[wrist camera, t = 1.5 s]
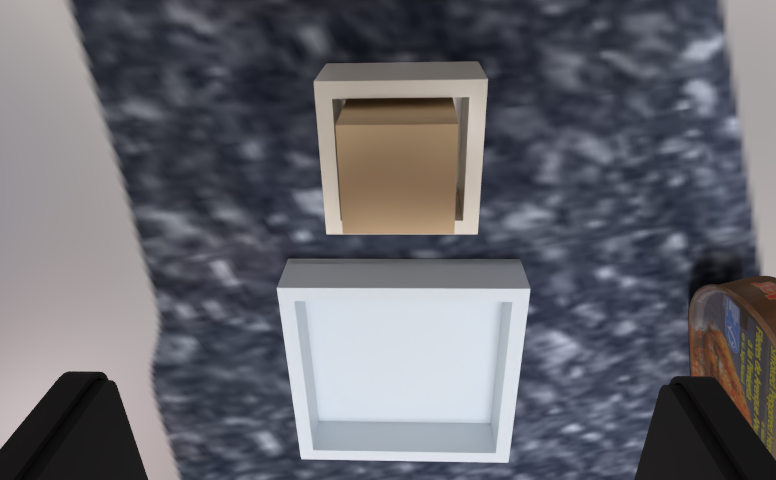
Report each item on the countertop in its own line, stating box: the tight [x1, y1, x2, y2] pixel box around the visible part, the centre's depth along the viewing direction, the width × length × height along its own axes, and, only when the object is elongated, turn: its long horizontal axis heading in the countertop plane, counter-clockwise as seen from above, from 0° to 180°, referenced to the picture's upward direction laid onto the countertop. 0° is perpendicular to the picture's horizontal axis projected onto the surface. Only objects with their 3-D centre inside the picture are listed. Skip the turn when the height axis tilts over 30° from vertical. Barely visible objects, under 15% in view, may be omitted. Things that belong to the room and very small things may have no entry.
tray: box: [277, 259, 530, 463], centre depth 27 cm, size 11×11×2 cm
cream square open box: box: [314, 61, 488, 234], centre depth 22 cm, size 6×6×4 cm
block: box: [335, 97, 459, 234], centre depth 21 cm, size 4×4×4 cm
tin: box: [689, 276, 776, 460], centre depth 25 cm, size 15×3×8 cm, turn 16°
